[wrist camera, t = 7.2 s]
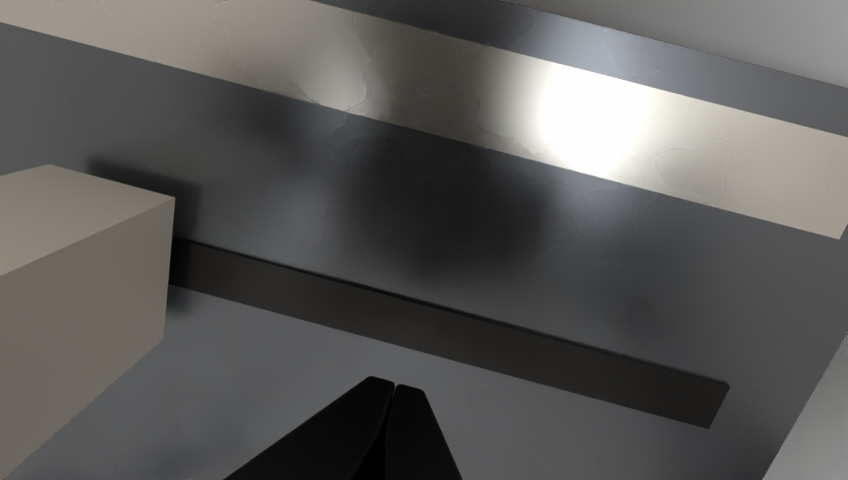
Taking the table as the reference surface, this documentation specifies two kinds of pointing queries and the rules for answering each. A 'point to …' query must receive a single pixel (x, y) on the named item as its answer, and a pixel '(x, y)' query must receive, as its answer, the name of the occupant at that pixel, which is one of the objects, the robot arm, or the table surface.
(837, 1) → the table surface
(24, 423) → the fader
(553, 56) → the panel
